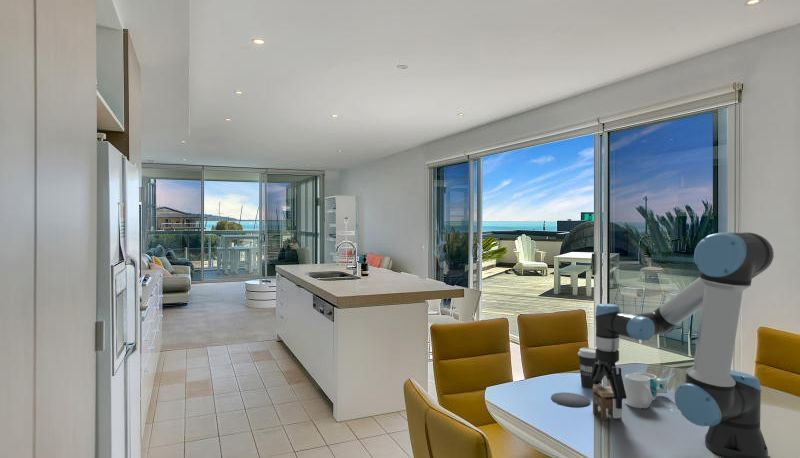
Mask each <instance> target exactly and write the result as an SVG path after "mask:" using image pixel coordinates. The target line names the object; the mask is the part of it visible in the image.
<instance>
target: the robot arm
mask: <svg viewBox="0 0 800 458" xmlns="http://www.w3.org/2000/svg"><path fill="white" fill-rule="evenodd" d="M693 253H694V254H693V259H694V260H693V261H694V263H695V265H696V267H697V269H698V270H699V272H700V273H699V277H697V278H696V279H695V280H694V281H692V282H691V283H690V284H688V285H687V286H686V287H684V288H683V289H682V290H680V291H679V292H677V293H676V294H674V296H672V297H671V298H669V299H668V300H666V302H664V303H663V304H661V305H660V306H659V307H658V308H656V309H655V310H653V311H651V312H644V313H636V314H632V313H631V314H630V313H625V312H621V310H620V306H619V305H617V304H614V303H599V304H597V305H596V308H595V347H596V348H595V349H596V358H594V365H593V369H592V372H591V375H590V380H592V383H593V387H603V386H602V380H603V379H604V377H606V380H608V382H609V386H611V388H612V391H613V394H614V397H613V414H612V418H613V419H616V418H622V419H623V400H625V399H626V393H625V383H624V380H623V376H622V368H621V367H616V363H618V362H619V360H620V350H619V349H620V341H621V340H620V336H622V337H627V338H631V339H634V340H636V341H649V340H650V339H651V338H652V337H653V336H660V335H667V334H670V333H673V332H675V331H676V330H677V328H678V326H679V324H680V323H682V322H683V321H685V320H686V319H688V318H689V317H691V316H693V315H694V314H695V313H697V312H699V311H701V313H700V320H699V325H698V334H697V340H696V349H695V353H694V361H693V366H691V367H688V368H687V369H686V374H685V378H684V379H685V380H684V383H682V384H681V385H679V386H678V387H677V388H676V390H675V392H674V402H675V405H676V407H677V409H678V411H679V412H681V415H682V416H683V418H685V419H686V420H687V421H689V422H690V423H692V424H694V425H696V426H699V427H708V429H707V432H706V434H705V436H704V444H705V447H706V448H707V449H708V450H710V451H711V452H713V453H715V454H716V455H719V456H722V457H724V458H769V449H768V446H767V445H766V441H765V438H764V436H763V433H762V430H761V398H762V397H761V393H762V389H761V381H760V379H759V378H758V377H756V376H755V375H752V374H749V373H745V372H741V371H738V370H731V369H732V363H733V358H734V351H735V344H736V339H737V331H738V324H739V319H740V318H739V317H740V312H741V306H742V305H741V304H742V298H743V292H744V291H745V290H746V289H748V288H750V287H751V286H752V285H751V284H752V279H754V278H755V277H757V276H759V275H760V274H763V272H765V271H766V270H767V269H769V267H770V266H771V264H772V262H773V261H774V258H775V257H774V256H775V255H774V253H775V252H774V249H773V246H772V245H771V243H770V242H769V240H768V239H767V238H765V237H763V236H762V235H759V234H757V233H754V232H727V231H722V232H717V233H712V234H709V235H707V236H705V237H704V238H702V239H701V240H700V241H699V242H698V243H697V245H696V247H695V249H694V252H693ZM593 376H595V377H593Z"/></svg>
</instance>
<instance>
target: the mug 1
mask: <svg viewBox="0 0 800 458" xmlns="http://www.w3.org/2000/svg"><path fill="white" fill-rule="evenodd" d="M624 378H625V379H624V388H625V393H626V399H624V400H625V404H626V405H627V406H629V407H632V408H634V409H642V408H643V409H648V408H650V405H651V404H652V401H653V400H652V393H651V390H650V378H649V377H647V376H644V375H640V374H634V373H627V374H625V376H624Z"/></svg>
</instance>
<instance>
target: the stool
mask: <svg viewBox="0 0 800 458" xmlns="http://www.w3.org/2000/svg"><path fill="white" fill-rule="evenodd" d="M613 397H614V394H613V391H612V388H611V385H609V386H608V385H607V386H602V387H593V389H592V413H593V414H594V415H598V414H599V408H600V420H601V421H606V420H607V413H608V414H610V415H611V414H612V415H613ZM615 419H616V420H618V421H622V420H623V417H622V418H615Z"/></svg>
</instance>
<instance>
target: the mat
mask: <svg viewBox="0 0 800 458" xmlns="http://www.w3.org/2000/svg"><path fill="white" fill-rule="evenodd" d="M550 399H551V400H552V402H553V403H555V404H558V405H561V406H565V407H572V408H582V407H583V408H584V407H588V406H589V405H590V404H591V399H589V398H588V397H587V396H585V395H583V394H578V393H575V392H556V393H553V394H551V395H550Z"/></svg>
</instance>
